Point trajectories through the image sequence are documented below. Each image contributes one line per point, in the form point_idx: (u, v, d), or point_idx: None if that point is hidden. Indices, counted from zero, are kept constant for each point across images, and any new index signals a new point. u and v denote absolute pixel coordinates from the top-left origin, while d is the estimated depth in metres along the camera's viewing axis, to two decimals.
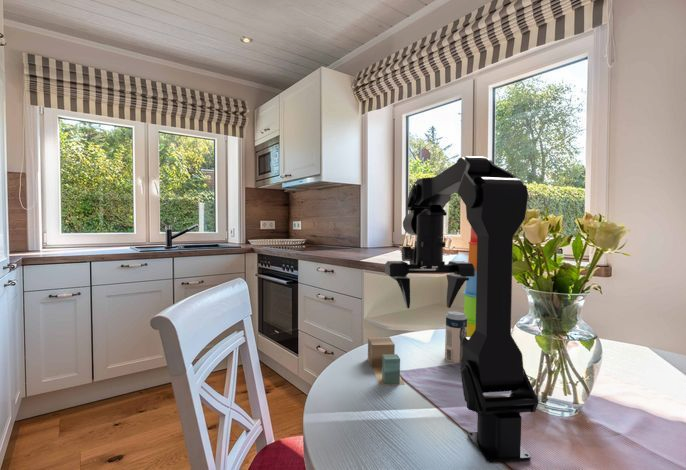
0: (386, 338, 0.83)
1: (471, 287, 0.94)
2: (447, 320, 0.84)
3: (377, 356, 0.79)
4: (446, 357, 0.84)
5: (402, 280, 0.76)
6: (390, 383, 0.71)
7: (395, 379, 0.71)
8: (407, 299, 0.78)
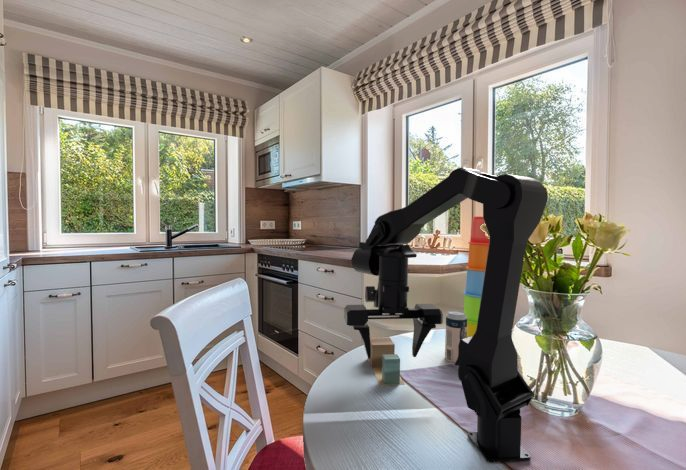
0: (386, 338, 0.83)
1: (471, 287, 0.94)
2: (447, 320, 0.84)
3: (377, 356, 0.79)
4: (446, 357, 0.84)
5: (361, 329, 0.68)
6: (390, 383, 0.71)
7: (395, 379, 0.71)
8: (367, 349, 0.70)
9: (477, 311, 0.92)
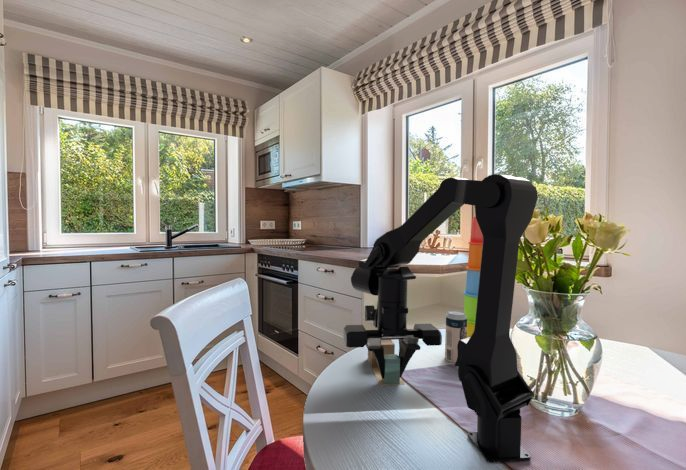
0: None
1: (470, 287, 0.94)
2: (447, 320, 0.84)
3: None
4: (446, 357, 0.84)
5: (375, 350, 0.69)
6: (390, 383, 0.71)
7: (395, 379, 0.71)
8: (381, 369, 0.71)
9: None
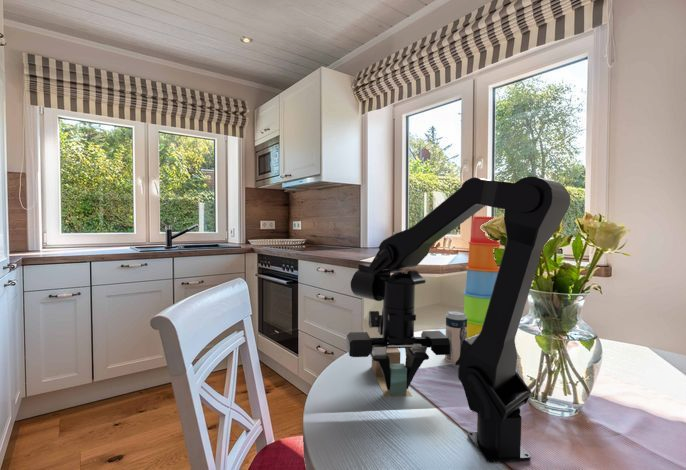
0: None
1: (471, 287, 0.94)
2: (447, 320, 0.84)
3: None
4: (446, 357, 0.84)
5: (380, 360, 0.64)
6: (396, 395, 0.66)
7: (402, 390, 0.66)
8: (387, 380, 0.66)
9: (477, 311, 0.92)
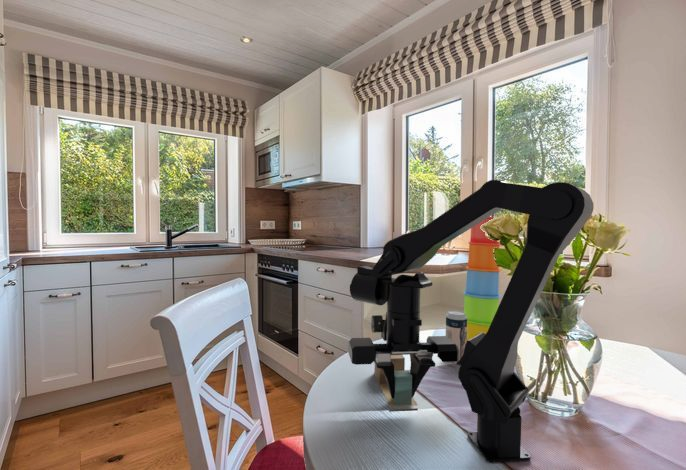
0: None
1: (471, 287, 0.94)
2: (447, 320, 0.84)
3: None
4: None
5: (384, 368, 0.61)
6: (401, 403, 0.63)
7: (406, 399, 0.63)
8: (391, 388, 0.63)
9: (477, 311, 0.92)
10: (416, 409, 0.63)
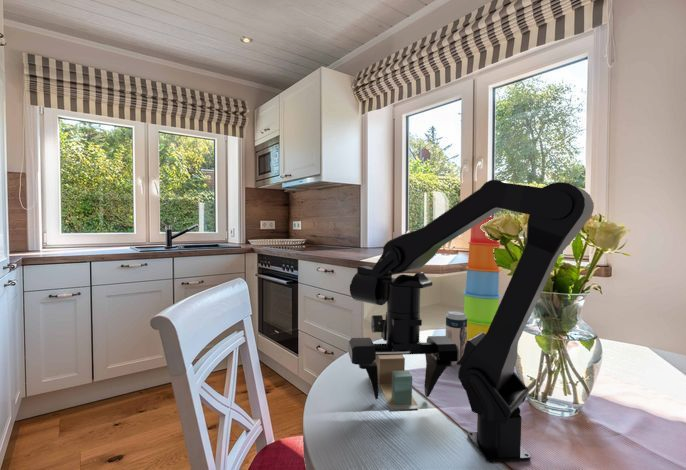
0: None
1: (471, 287, 0.94)
2: (447, 320, 0.84)
3: (385, 371, 0.71)
4: None
5: (367, 368, 0.60)
6: (401, 403, 0.63)
7: (407, 399, 0.63)
8: (374, 389, 0.62)
9: (477, 311, 0.92)
10: (416, 409, 0.63)
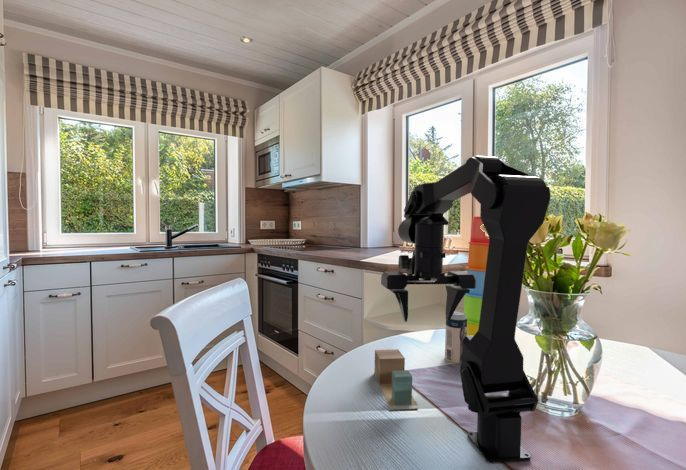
0: (395, 350, 0.75)
1: None
2: None
3: (385, 371, 0.71)
4: (446, 357, 0.84)
5: (400, 293, 0.72)
6: (401, 403, 0.63)
7: (407, 399, 0.63)
8: (405, 312, 0.74)
9: (477, 311, 0.92)
10: (416, 409, 0.63)
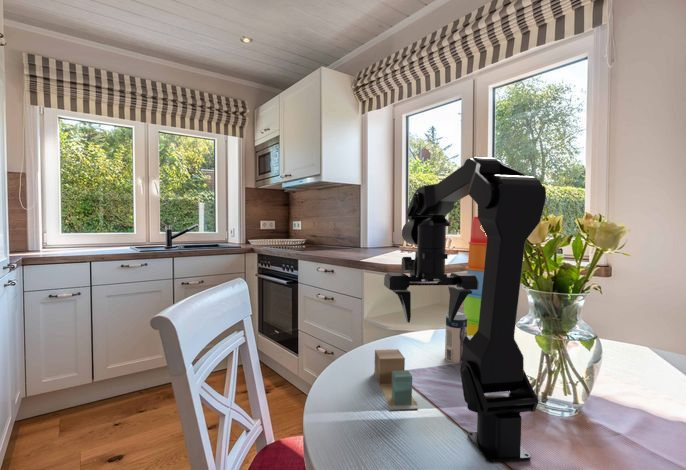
0: (395, 350, 0.75)
1: None
2: (447, 320, 0.84)
3: (385, 371, 0.71)
4: (446, 357, 0.84)
5: (402, 294, 0.72)
6: (401, 403, 0.63)
7: (407, 399, 0.63)
8: (407, 313, 0.74)
9: (477, 311, 0.92)
10: (416, 409, 0.63)
